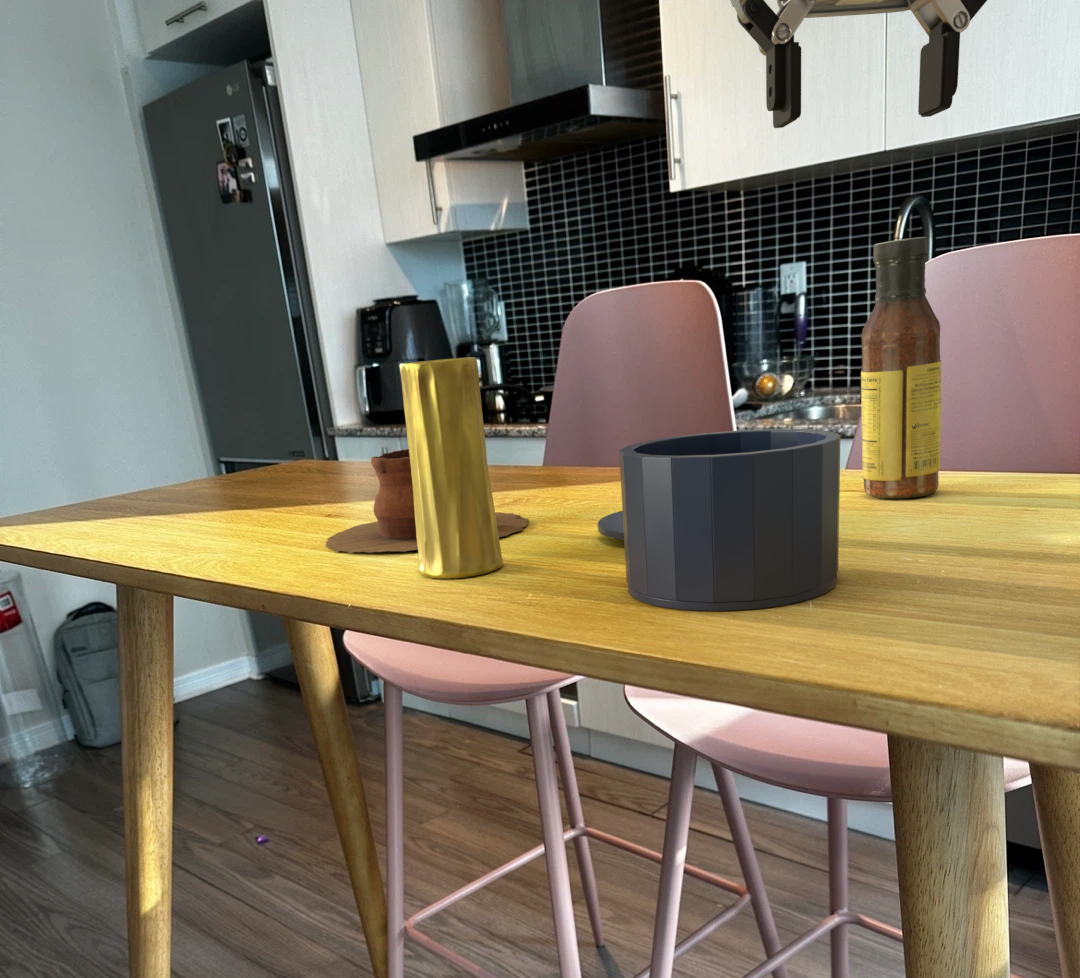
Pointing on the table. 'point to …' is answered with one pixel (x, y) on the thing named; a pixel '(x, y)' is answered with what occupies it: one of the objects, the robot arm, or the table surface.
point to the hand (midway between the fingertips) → (861, 118)
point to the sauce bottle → (901, 377)
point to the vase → (449, 469)
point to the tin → (731, 518)
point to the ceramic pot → (398, 512)
